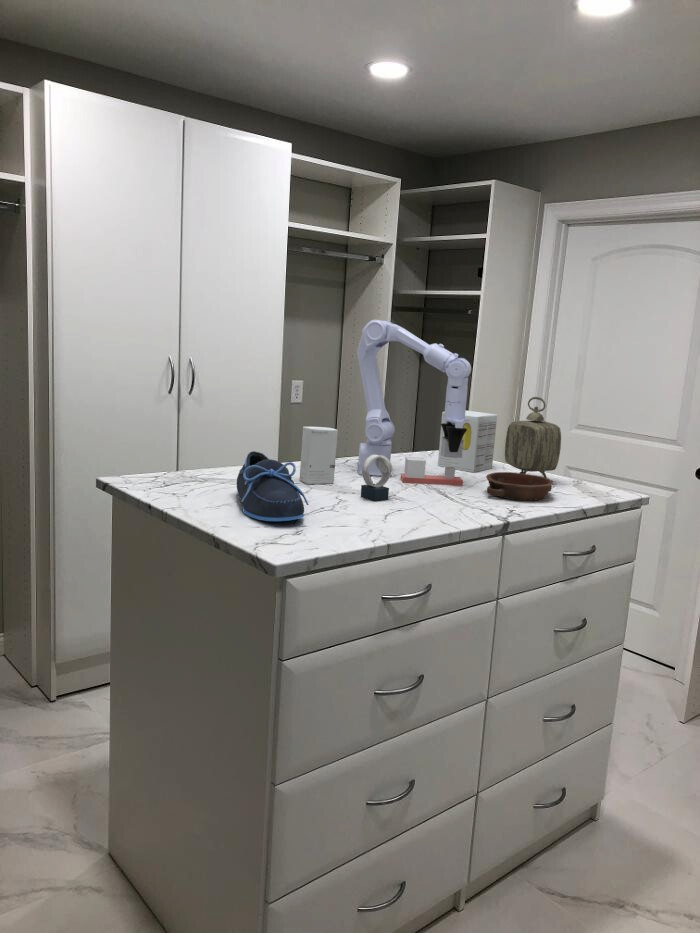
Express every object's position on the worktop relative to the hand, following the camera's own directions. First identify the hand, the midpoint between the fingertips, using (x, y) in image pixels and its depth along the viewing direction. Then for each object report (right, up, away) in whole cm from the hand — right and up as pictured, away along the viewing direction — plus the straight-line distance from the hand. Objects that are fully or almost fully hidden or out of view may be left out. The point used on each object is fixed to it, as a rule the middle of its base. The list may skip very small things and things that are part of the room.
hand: (451, 450), depth 214 cm
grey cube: (0, -2, 0) cm, 2 cm away
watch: (-22, -13, -24) cm, 35 cm away
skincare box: (-37, -9, -8) cm, 39 cm away
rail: (-6, -9, +1) cm, 11 cm away
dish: (+17, -13, -9) cm, 23 cm away
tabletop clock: (+24, -9, +13) cm, 29 cm away
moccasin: (-47, -14, -40) cm, 63 cm away
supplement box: (+8, -5, +29) cm, 31 cm away
